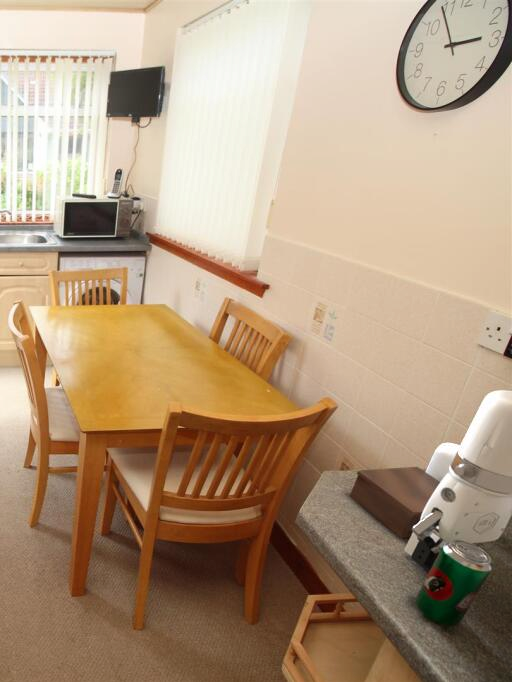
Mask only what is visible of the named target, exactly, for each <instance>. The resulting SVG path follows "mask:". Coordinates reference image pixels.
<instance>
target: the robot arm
mask: <svg viewBox="0 0 512 682" xmlns="http://www.w3.org/2000/svg"><path fill="white" fill-rule="evenodd" d="M476 411H477V412H476V414H475V416H474V418H473V419H472V422H471V423H470V425H469V427H468V429H467V432H466V433H465V435H464V437H463V439H462V441H461V443H460V444H459V445H460V447H459V449H458V451H457V453H456V455H455V457H454V459H453V461H452V463H451V465H450V467H449V470H450V472H448V473H447V475H446V476H445V477H444V478H443V480H442V481H441V482H440V484H439V485H438V487H437V488H436V490H435V491H434V493H433V494H432V496H431V498H430V499H429V501H428V503H427V505H426V506H425V508H424V510H423V513H422V515H421V519H420V521H421V522H420V523H418V524H417V525H416V526H414V527H413V528H412V531H413V532H414V533H415V534H416V536H417V537H418V538H417V539H418V540H419V542H418V544H417V546H416V548H415V550H414V551H413V553H412V555H411V556H410V558H411V560H413V562H415V563H416V564H417V565H418V566H420V568H422V569H423V570H424V571H426V572H427V573H429V572H430V570H431V568H432V566H433V564H434V562H435V560H436V558H437V556H438V554H439V553H440V551H441V549H442V547H443V545H444V544H447V543H449V542H450V541H451V540H462V541H466V542H469V543H471V544H473V545H475V546H477V547H479V548H480V546H481V543H489V542H494V541H496V540H499V539H500V537H501V536H502V534H503V533H504V531H505V530H506V527H507V526H508V524H509V521H510V519H511V517H512V390H504V389H500V390H493V391H491V392H489V393H487V395H485V397H484V399H483V400H482V402H481V404H480V406H479V407H478V410H476ZM437 526H439V529H437V528H436V527H437ZM432 533H434V534H436V535H437V536H438V537H440V538H439V540H438V541H437V542H436V543H435V541H434V539H433V538H431V537H430V536H431V534H432Z"/></svg>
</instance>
